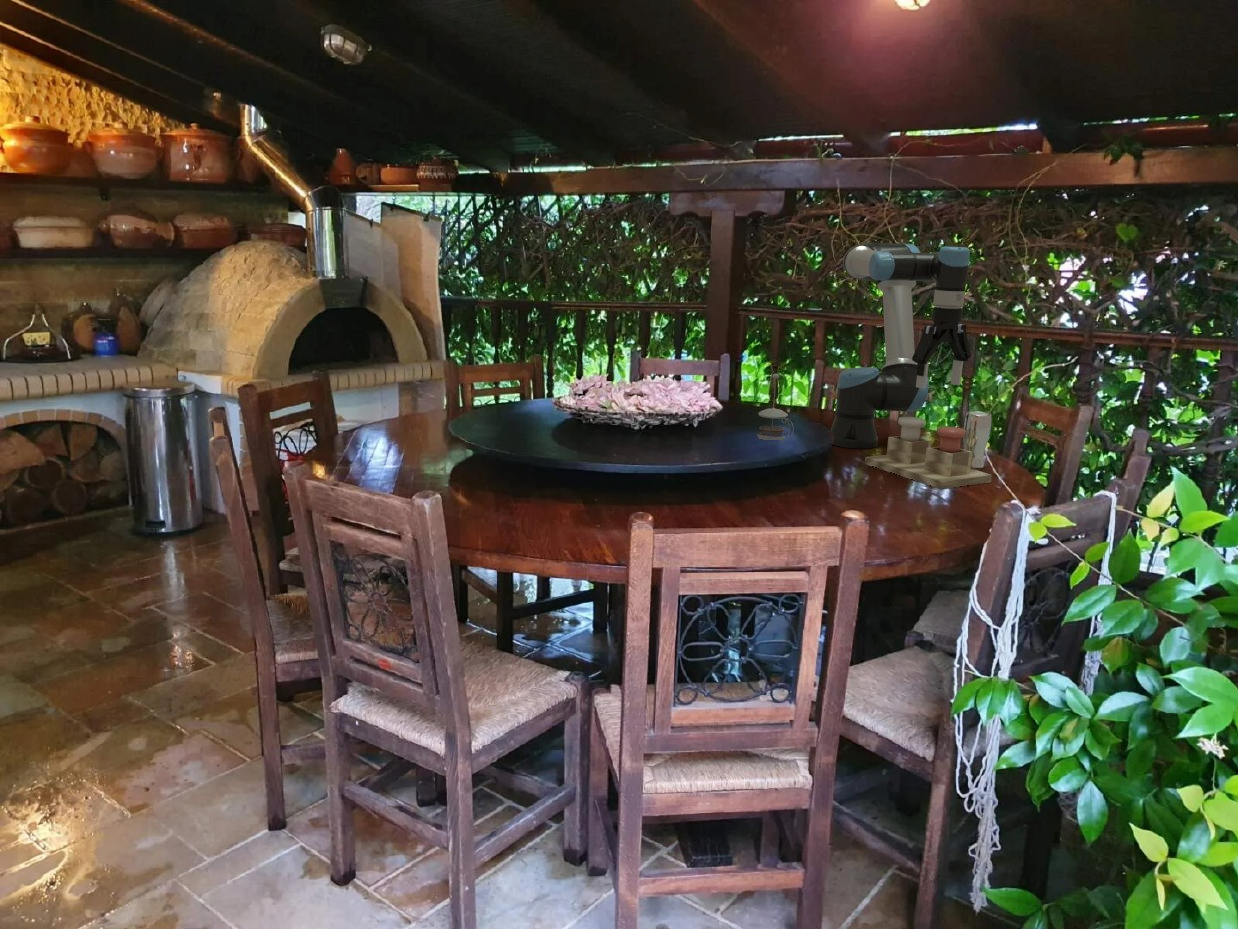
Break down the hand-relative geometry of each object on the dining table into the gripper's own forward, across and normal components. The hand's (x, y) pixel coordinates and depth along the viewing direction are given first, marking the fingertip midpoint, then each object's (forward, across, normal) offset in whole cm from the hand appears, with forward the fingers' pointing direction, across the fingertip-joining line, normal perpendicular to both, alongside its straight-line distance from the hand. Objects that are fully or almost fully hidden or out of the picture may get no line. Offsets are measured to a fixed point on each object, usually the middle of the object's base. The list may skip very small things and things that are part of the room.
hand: (938, 386), depth 238 cm
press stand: (+23, -5, -3) cm, 24 cm away
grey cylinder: (+17, -4, +4) cm, 18 cm away
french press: (+23, -36, +24) cm, 49 cm away
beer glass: (+23, +14, -3) cm, 28 cm away
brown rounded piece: (+16, -5, -10) cm, 20 cm away
